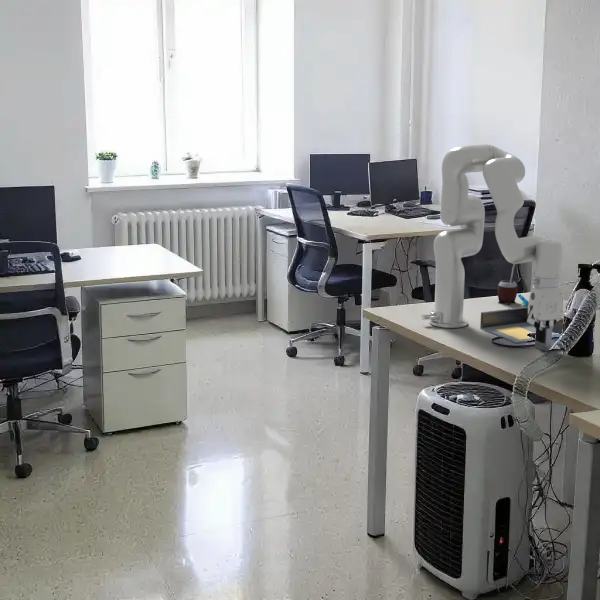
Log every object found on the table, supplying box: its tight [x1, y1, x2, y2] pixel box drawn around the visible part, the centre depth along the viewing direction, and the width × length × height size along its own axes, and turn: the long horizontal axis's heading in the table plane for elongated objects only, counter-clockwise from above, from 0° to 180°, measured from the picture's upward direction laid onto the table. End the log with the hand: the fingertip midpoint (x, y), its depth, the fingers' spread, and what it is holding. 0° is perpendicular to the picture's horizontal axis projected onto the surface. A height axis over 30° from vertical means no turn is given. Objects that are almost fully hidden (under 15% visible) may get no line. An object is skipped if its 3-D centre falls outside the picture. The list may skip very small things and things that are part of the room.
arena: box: [479, 306, 565, 344], centre depth 293 cm, size 19×19×6 cm
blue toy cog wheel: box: [517, 293, 529, 307], centre depth 315 cm, size 11×6×10 cm
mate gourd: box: [497, 264, 519, 306], centre depth 331 cm, size 8×8×15 cm
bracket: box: [534, 325, 557, 352], centre depth 276 cm, size 7×5×7 cm
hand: (542, 340), depth 275 cm, fingers closed on bracket
